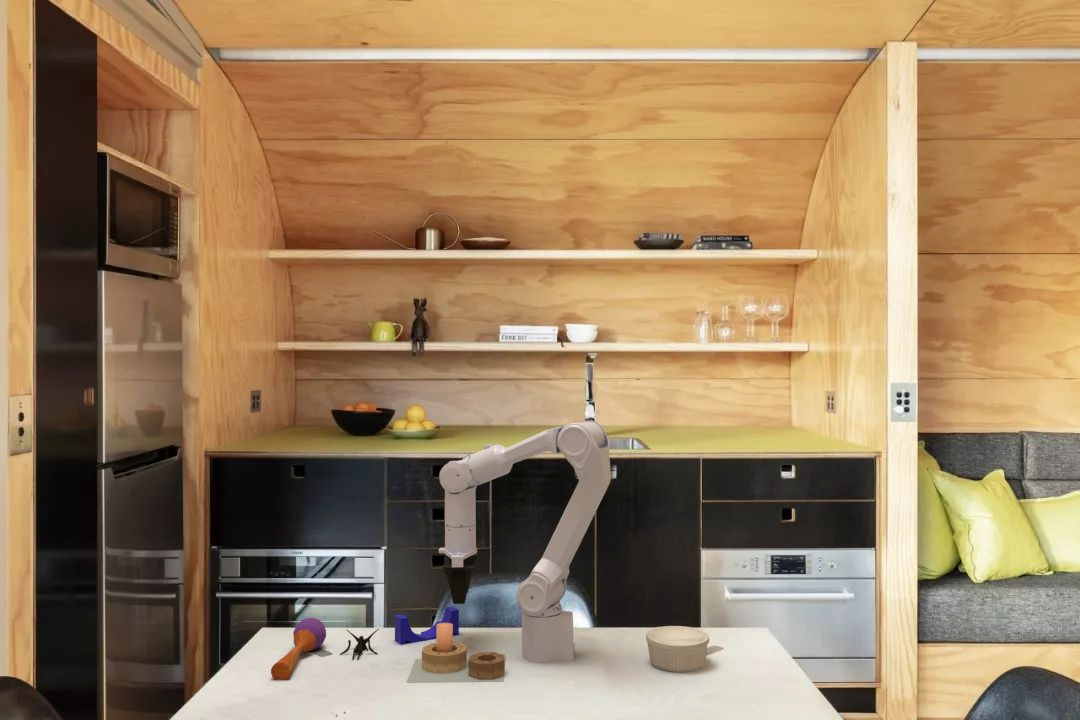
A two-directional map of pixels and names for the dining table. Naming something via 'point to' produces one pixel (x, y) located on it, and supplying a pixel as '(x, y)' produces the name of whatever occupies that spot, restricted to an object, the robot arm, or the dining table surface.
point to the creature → (360, 645)
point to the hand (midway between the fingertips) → (460, 598)
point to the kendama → (300, 646)
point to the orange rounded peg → (444, 638)
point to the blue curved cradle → (406, 634)
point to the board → (442, 675)
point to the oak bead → (444, 659)
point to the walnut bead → (486, 665)
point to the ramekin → (677, 648)
